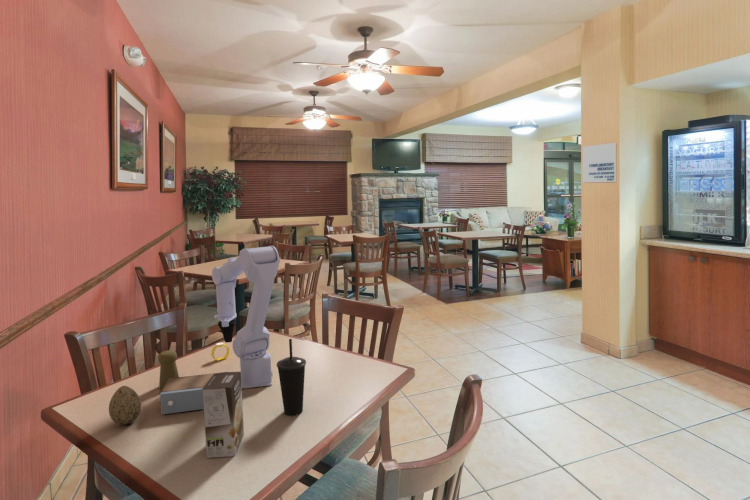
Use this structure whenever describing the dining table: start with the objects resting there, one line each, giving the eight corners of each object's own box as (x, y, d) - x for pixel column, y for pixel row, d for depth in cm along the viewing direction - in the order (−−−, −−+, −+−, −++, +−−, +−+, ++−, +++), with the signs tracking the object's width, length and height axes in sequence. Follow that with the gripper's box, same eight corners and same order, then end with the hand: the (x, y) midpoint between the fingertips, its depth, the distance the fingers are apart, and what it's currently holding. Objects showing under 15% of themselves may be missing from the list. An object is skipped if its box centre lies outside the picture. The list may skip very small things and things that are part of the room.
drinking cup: (283, 421, 109) (279, 346, 106) (275, 408, 115) (272, 337, 113) (311, 414, 112) (309, 340, 110) (302, 402, 119) (299, 333, 116)
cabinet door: (227, 403, 118) (226, 384, 117) (227, 408, 115) (225, 388, 115) (162, 412, 114) (161, 392, 113) (160, 417, 111) (158, 396, 111)
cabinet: (228, 391, 127) (227, 371, 126) (225, 405, 118) (224, 384, 117) (170, 398, 123) (169, 378, 122) (163, 413, 114) (161, 391, 113)
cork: (172, 391, 127) (169, 355, 126) (154, 389, 129) (151, 354, 127) (184, 382, 133) (182, 348, 132) (167, 381, 135) (165, 347, 133)
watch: (214, 363, 150) (212, 347, 149) (211, 361, 152) (209, 345, 151) (231, 357, 154) (228, 342, 152) (227, 355, 156) (225, 340, 155)
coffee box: (235, 456, 94) (231, 387, 92) (206, 458, 93) (201, 389, 92) (244, 434, 103) (241, 370, 101) (217, 435, 103) (213, 372, 101)
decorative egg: (145, 423, 109) (142, 386, 108) (113, 433, 104) (109, 395, 103) (138, 413, 114) (135, 377, 113) (107, 422, 110) (104, 385, 108)
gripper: (215, 298, 147) (218, 336, 149) (210, 308, 133) (213, 350, 135) (237, 296, 149) (239, 334, 150) (234, 306, 135) (236, 347, 136)
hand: (228, 341), depth 143 cm, fingers closed
